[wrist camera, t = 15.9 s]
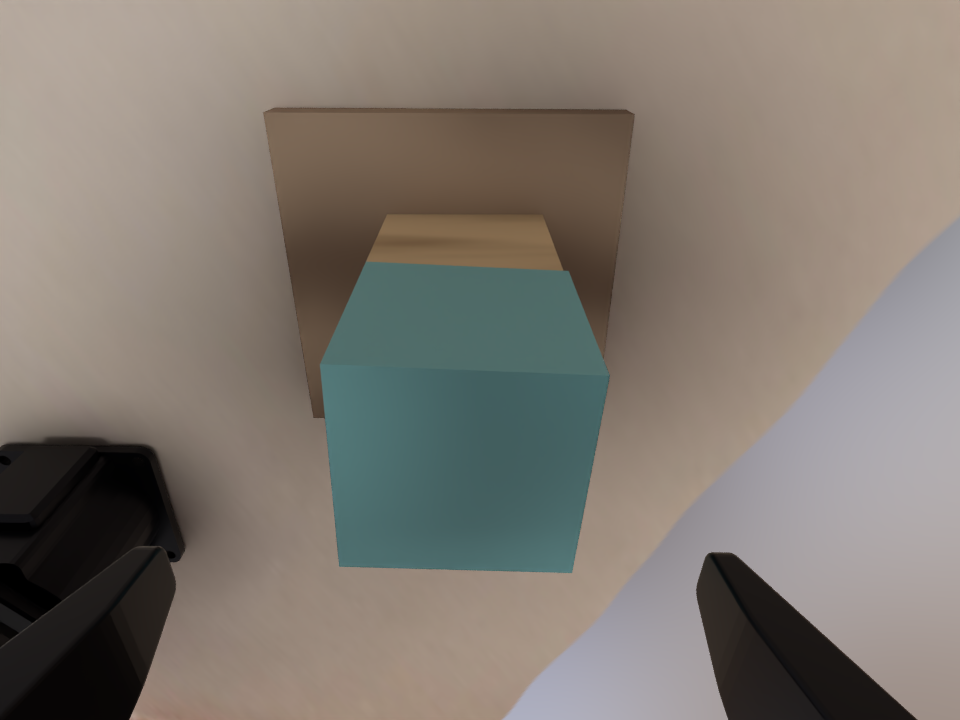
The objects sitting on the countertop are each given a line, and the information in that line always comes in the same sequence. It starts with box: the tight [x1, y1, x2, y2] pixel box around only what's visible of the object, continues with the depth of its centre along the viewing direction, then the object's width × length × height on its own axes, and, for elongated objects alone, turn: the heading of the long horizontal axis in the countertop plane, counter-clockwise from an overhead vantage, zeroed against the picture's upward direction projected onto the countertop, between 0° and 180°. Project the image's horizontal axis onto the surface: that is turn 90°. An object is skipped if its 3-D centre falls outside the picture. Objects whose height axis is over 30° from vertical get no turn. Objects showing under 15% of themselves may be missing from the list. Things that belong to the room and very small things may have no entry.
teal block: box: [320, 262, 610, 573], centre depth 13 cm, size 5×5×5 cm
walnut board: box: [263, 108, 635, 418], centre depth 21 cm, size 11×11×2 cm
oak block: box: [366, 214, 563, 271], centre depth 18 cm, size 5×5×5 cm
